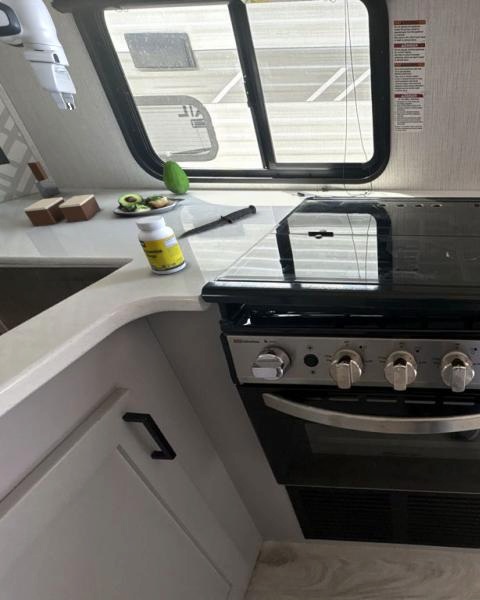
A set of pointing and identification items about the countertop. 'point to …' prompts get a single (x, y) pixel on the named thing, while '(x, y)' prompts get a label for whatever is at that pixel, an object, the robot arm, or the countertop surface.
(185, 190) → the avocado
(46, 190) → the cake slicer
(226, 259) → the countertop surface
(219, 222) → the knife
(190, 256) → the countertop surface
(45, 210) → the cake
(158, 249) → the pill bottle
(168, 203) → the salad plate
